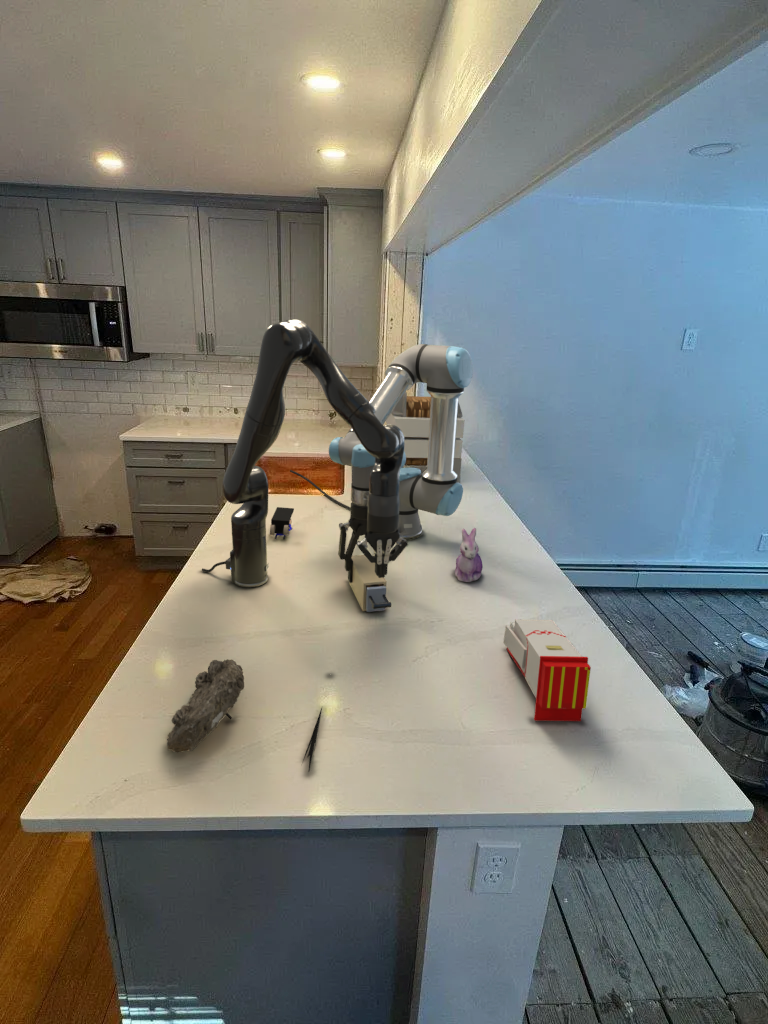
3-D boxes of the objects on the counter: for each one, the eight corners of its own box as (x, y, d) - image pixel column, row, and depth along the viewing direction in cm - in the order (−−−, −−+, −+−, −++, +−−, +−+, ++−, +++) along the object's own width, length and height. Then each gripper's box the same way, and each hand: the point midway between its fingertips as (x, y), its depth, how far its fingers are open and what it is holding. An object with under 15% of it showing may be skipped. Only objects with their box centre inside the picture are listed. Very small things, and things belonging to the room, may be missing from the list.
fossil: (192, 660, 117) (244, 628, 112) (224, 691, 120) (276, 661, 115) (142, 746, 98) (202, 712, 93) (182, 779, 101) (242, 748, 96)
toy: (549, 604, 136) (599, 663, 106) (544, 656, 138) (591, 727, 109) (499, 603, 135) (535, 662, 106) (495, 655, 138) (529, 726, 109)
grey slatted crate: (382, 463, 289) (386, 382, 275) (445, 464, 293) (451, 384, 279) (390, 482, 257) (394, 392, 243) (460, 483, 261) (468, 394, 247)
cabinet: (385, 609, 150) (386, 581, 147) (362, 611, 148) (363, 583, 145) (368, 579, 165) (369, 554, 162) (348, 581, 164) (349, 555, 161)
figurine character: (289, 545, 189) (295, 524, 202) (288, 525, 186) (294, 505, 199) (269, 545, 189) (276, 524, 202) (268, 525, 185) (275, 505, 199)
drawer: (391, 621, 142) (392, 598, 140) (372, 623, 141) (373, 600, 139) (369, 582, 162) (370, 561, 160) (352, 583, 161) (353, 562, 159)
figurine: (465, 585, 164) (469, 538, 159) (445, 571, 172) (449, 525, 167) (491, 580, 168) (496, 533, 163) (471, 566, 176) (475, 521, 171)
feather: (331, 679, 122) (336, 673, 122) (307, 777, 96) (313, 769, 95) (324, 675, 122) (329, 669, 121) (298, 772, 95) (304, 764, 95)
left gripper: (359, 517, 129) (358, 585, 135) (414, 513, 133) (411, 580, 138) (352, 506, 136) (351, 572, 142) (405, 503, 139) (401, 567, 145)
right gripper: (332, 508, 146) (331, 588, 154) (402, 505, 152) (398, 582, 159) (327, 499, 153) (326, 576, 161) (394, 496, 158) (390, 571, 166)
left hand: (380, 576), depth 140 cm, fingers closed
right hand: (362, 579), depth 160 cm, fingers closed on cabinet, 6 cm apart
